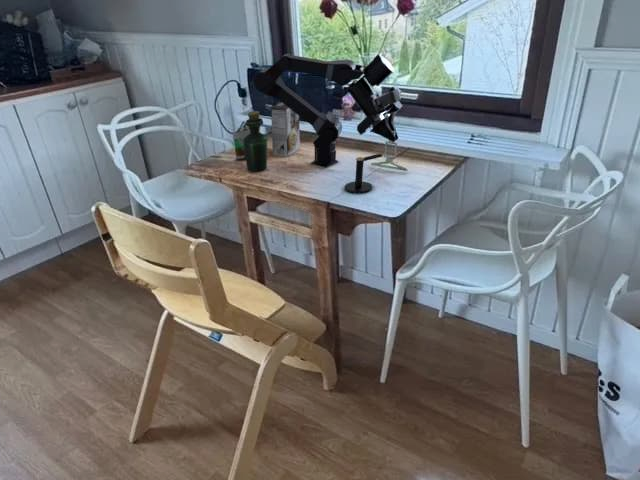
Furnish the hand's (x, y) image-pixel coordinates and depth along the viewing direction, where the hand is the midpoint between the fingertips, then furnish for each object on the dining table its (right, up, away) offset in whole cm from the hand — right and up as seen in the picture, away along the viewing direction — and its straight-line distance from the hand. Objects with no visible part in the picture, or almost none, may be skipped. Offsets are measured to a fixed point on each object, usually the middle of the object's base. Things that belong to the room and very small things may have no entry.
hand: (396, 140), depth 156 cm
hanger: (0, -6, +6) cm, 9 cm away
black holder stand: (-11, -15, -2) cm, 19 cm away
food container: (-44, +5, +29) cm, 53 cm away
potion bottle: (-41, -3, +18) cm, 45 cm away
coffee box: (-30, +7, +29) cm, 42 cm away
